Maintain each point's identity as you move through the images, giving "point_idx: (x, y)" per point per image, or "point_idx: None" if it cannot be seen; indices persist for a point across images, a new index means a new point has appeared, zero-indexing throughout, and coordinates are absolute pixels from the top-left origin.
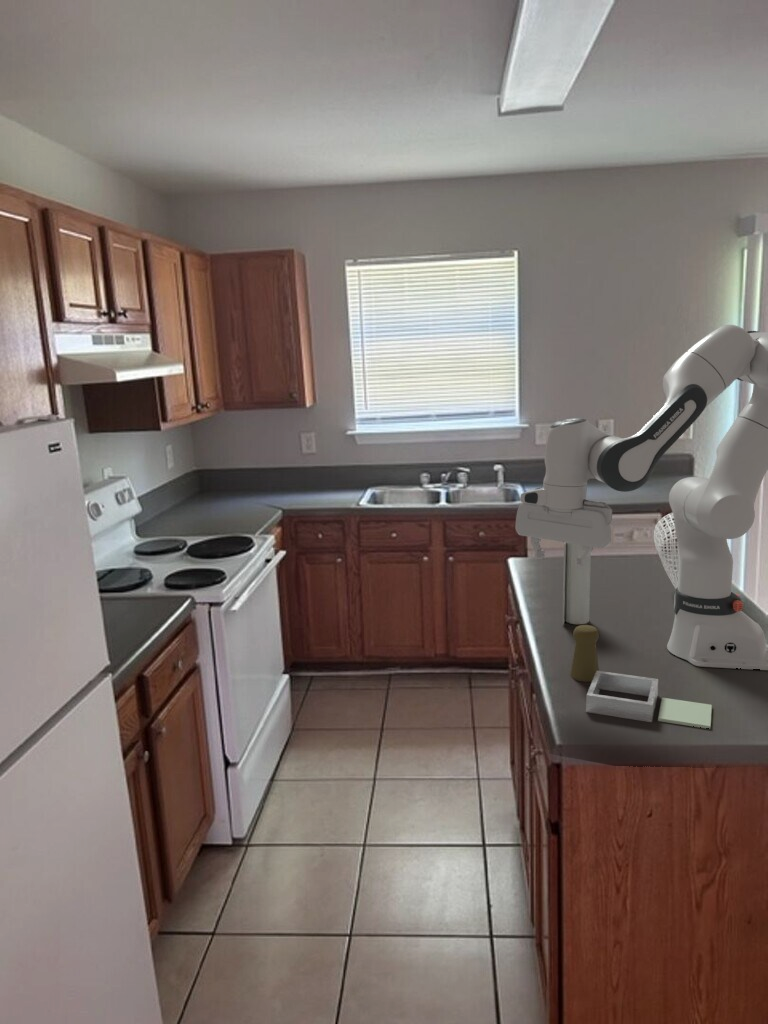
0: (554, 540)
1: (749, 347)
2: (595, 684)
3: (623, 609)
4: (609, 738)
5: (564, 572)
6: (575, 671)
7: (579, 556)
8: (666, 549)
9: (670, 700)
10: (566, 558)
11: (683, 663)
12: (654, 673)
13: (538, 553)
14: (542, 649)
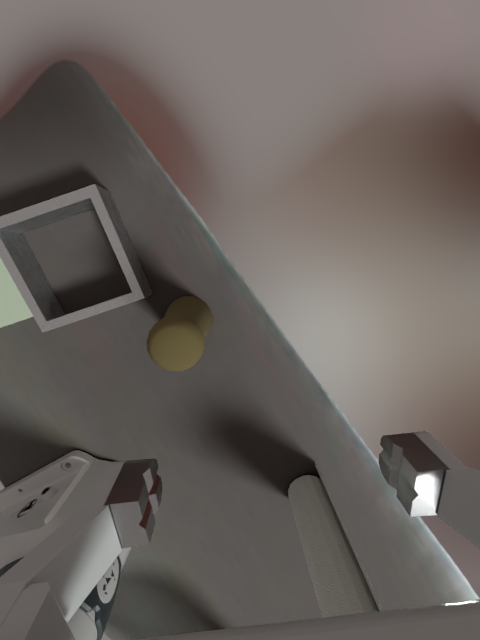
0: (365, 616)
1: None
2: (110, 240)
3: (269, 561)
4: (23, 122)
5: (363, 571)
6: (193, 301)
7: (145, 533)
8: None
9: (27, 311)
10: None
11: (98, 448)
12: (110, 392)
13: (425, 454)
14: (296, 366)
